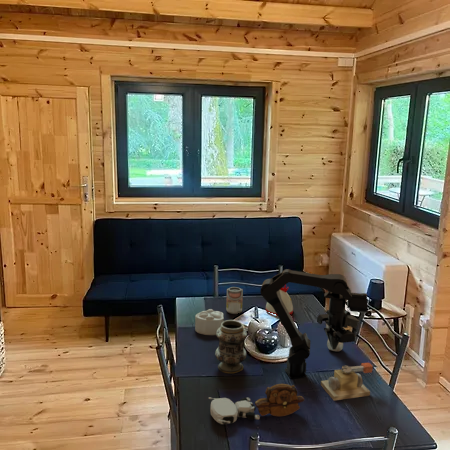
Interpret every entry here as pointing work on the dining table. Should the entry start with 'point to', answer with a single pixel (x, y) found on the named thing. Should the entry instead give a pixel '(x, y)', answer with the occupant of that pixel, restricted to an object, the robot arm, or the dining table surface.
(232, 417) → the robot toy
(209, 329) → the lumpy-topped squat cylinder
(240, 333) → the apothecary jar
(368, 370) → the lever
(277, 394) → the wooden carving
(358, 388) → the valve board
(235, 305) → the beige cylinder
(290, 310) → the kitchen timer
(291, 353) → the robot arm
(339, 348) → the plastic bottle
